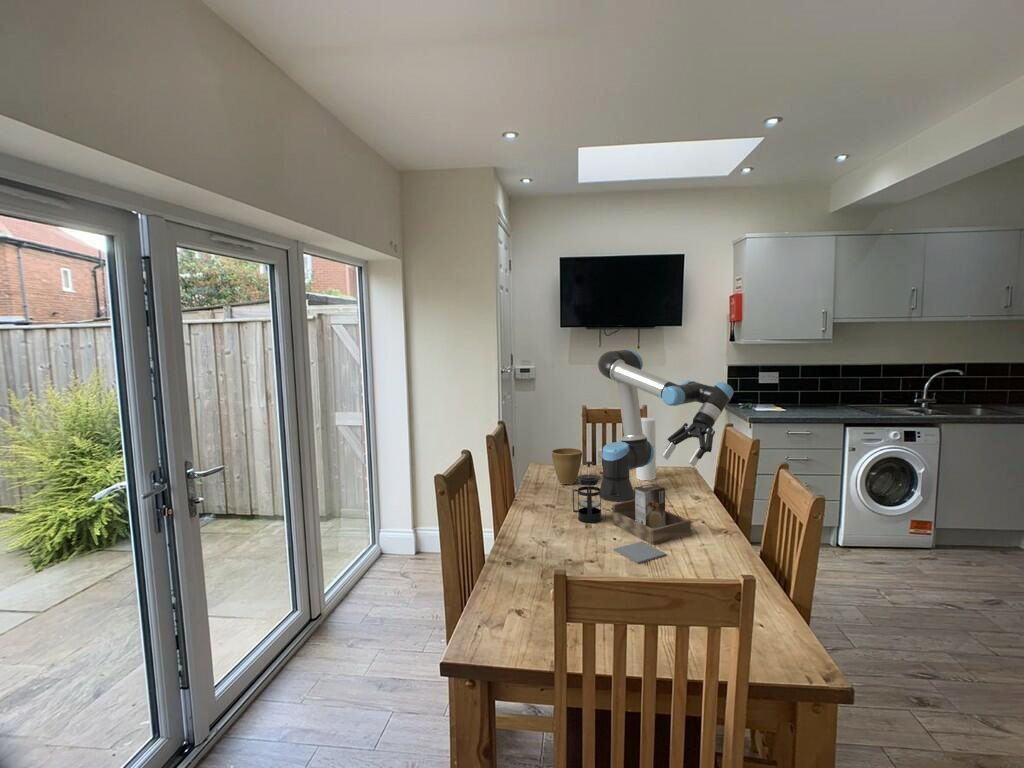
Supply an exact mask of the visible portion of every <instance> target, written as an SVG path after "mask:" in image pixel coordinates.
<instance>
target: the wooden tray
mask: <svg viewBox="0 0 1024 768" xmlns="http://www.w3.org/2000/svg"><path fill="white" fill-rule="evenodd" d="M665 519H666V526H663V527H659V528H655V529H653V528H650V527H648V526H646V525H644V524H642V523H639V522H637V521H635V520H636V513H635V499H634V498H633V499H630V500H626V501H620V502H617V503H612V525H613V526H614V525H615V527H616V526H617V527H616V528H618V527H619V529H621V530H622V531H625V532H627V533H629V534H631V535H633V536H635V537H637V538H639V539H641V540H642V541H644V542H646V543H649V544H651V545H653V546H654V545H658V544H660V543H664V542H668V541H672V540H676V539H680V538H683V537H687V536H690V534H691V533H692V531H691V530H692V529H691V527H692V526H691V522H692V521H691V520H689V519H686V518H684V517H681V516H679V515H677V514H674V513H672V512H669V511H667V510H665ZM691 535H692V534H691Z"/></svg>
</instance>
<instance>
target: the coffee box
mask: <svg viewBox="0 0 1024 768" xmlns="http://www.w3.org/2000/svg"><path fill="white" fill-rule="evenodd" d="M634 498H635V513H636V521H637V522H639V523H642V524H644V525H646V526H648V527H650V528H653V529H655V528H659V527H663V526H666V519H665V511H666V487H665V486H661V485H658V484H655V483H651V484H646V485H640V486H636V487H634Z"/></svg>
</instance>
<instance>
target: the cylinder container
mask: <svg viewBox="0 0 1024 768" xmlns="http://www.w3.org/2000/svg"><path fill="white" fill-rule="evenodd" d="M641 422H642V430H643V434H644V435H645V436H646V437H647V441H648V442H650V444H651V445H652V446H653V449H654V456H653V459H652V461H651V462H650V463H649V464H647V465H645V466H643V467H639V468H635V471H636V472H635V474H636V475H635V477H636V479H637V480H639V479H640V481H644V480H650V481H653V480H652V479H655V478H657V471H656V469H657V467H656V466H657V463H656V459H657V458H656V457H657V456H656V455H657V453H656V449H657V448H656V418H652V417H641ZM655 480H656V479H655Z"/></svg>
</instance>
